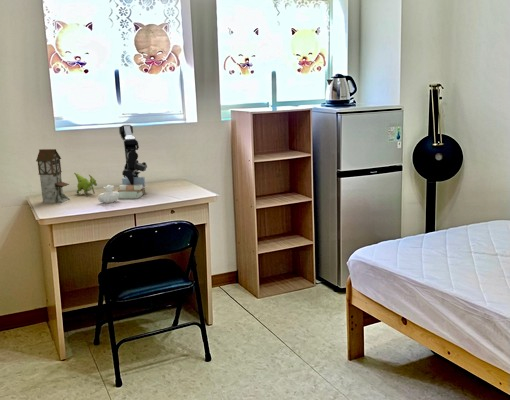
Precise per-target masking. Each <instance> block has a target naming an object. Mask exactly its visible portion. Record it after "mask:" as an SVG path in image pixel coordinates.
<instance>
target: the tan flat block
mask: <svg viewBox="0 0 510 400" xmlns="http://www.w3.org/2000/svg"><path fill="white" fill-rule="evenodd" d="M141 191H142V194H145V193H146V189H145V187H143V189H141V190H119V189H118V190H116V192H137V194H138V193H140V192H141Z"/></svg>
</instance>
